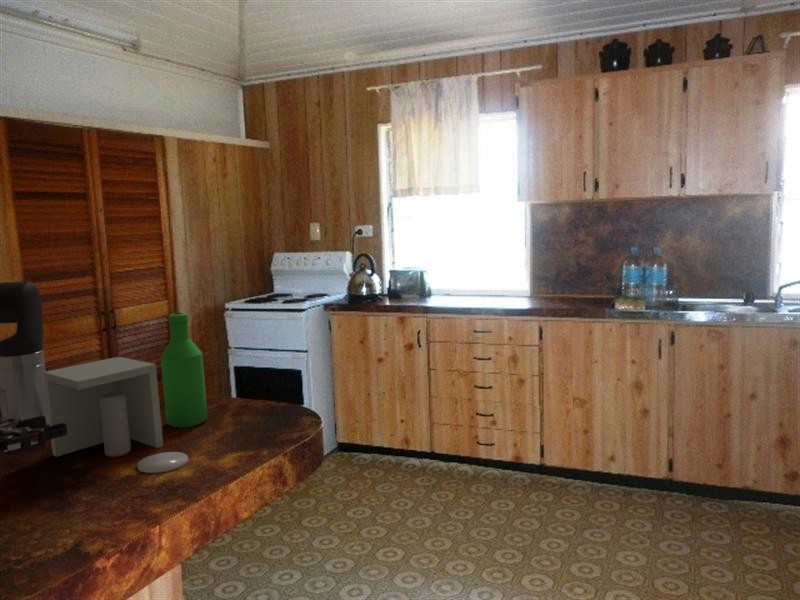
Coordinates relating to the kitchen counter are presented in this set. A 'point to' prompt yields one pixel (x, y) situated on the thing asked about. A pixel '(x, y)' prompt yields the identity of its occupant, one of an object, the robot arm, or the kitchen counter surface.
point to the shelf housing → (79, 401)
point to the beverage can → (114, 424)
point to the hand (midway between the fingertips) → (55, 424)
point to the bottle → (183, 376)
